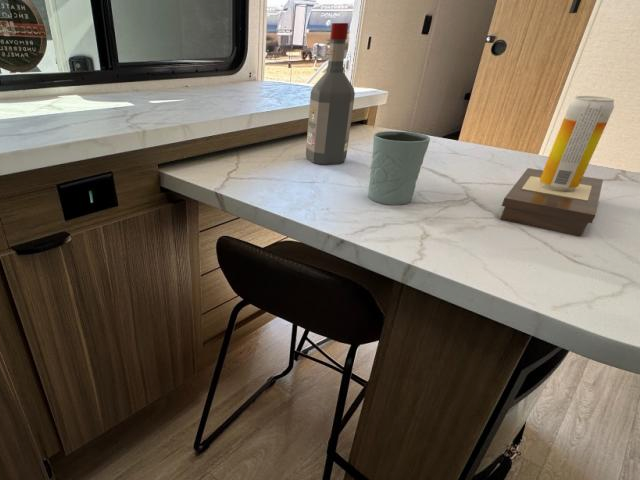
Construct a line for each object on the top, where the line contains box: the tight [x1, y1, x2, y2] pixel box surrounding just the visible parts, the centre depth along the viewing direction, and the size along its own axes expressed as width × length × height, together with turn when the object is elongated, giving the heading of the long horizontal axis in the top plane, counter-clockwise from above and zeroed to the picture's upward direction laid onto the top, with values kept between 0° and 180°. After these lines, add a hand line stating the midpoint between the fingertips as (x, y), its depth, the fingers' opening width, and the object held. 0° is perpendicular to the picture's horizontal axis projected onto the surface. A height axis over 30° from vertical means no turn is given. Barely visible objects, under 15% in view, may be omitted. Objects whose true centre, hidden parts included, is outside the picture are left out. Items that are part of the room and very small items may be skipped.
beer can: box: [540, 95, 615, 191], centre depth 73 cm, size 6×6×15 cm
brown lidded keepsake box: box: [500, 167, 604, 237], centre depth 78 cm, size 24×13×4 cm, turn 141°
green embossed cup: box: [367, 130, 431, 206], centre depth 81 cm, size 10×10×12 cm
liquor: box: [305, 22, 356, 166], centre depth 101 cm, size 9×9×30 cm
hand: (609, 12), depth 89 cm, fingers open, 13 cm apart
